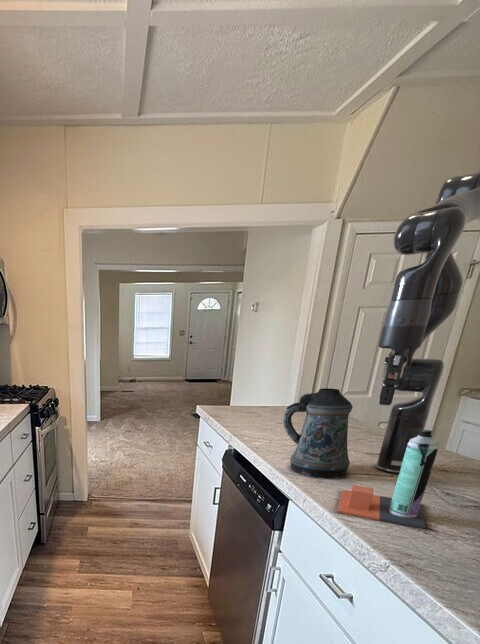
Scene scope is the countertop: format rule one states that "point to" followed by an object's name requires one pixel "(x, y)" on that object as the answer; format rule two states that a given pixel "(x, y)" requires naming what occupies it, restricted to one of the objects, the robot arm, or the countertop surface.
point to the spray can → (414, 475)
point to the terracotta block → (360, 497)
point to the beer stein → (320, 434)
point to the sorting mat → (380, 511)
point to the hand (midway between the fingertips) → (384, 402)
